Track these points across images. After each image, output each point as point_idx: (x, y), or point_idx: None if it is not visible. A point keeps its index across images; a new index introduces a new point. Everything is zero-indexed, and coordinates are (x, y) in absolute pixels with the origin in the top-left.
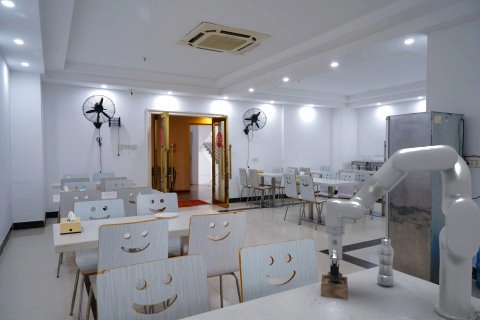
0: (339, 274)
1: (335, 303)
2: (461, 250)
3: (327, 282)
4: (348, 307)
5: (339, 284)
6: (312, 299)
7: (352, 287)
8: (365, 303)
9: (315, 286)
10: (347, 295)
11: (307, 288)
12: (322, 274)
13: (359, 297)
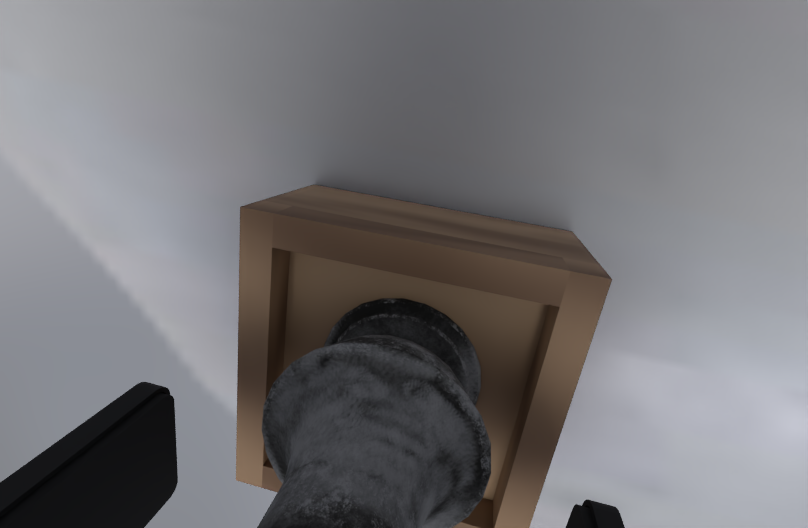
0: (420, 415)
1: (665, 365)
2: None
3: None
4: (770, 263)
5: (546, 376)
6: None
7: (248, 112)
8: (669, 41)
9: None
10: (581, 244)
11: None
12: (243, 480)
13: (501, 84)
